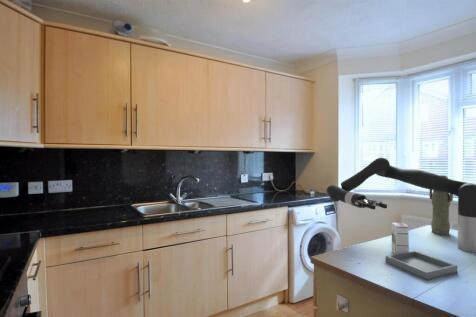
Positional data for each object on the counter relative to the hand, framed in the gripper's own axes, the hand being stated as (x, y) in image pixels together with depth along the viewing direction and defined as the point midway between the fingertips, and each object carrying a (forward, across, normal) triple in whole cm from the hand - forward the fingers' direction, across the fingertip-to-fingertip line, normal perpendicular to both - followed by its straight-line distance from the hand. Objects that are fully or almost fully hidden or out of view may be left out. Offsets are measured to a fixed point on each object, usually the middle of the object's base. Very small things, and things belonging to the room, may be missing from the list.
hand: (380, 207), depth 136 cm
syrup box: (+12, +1, +20) cm, 23 cm away
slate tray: (+25, -6, +19) cm, 32 cm away
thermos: (-1, +56, +20) cm, 59 cm away
